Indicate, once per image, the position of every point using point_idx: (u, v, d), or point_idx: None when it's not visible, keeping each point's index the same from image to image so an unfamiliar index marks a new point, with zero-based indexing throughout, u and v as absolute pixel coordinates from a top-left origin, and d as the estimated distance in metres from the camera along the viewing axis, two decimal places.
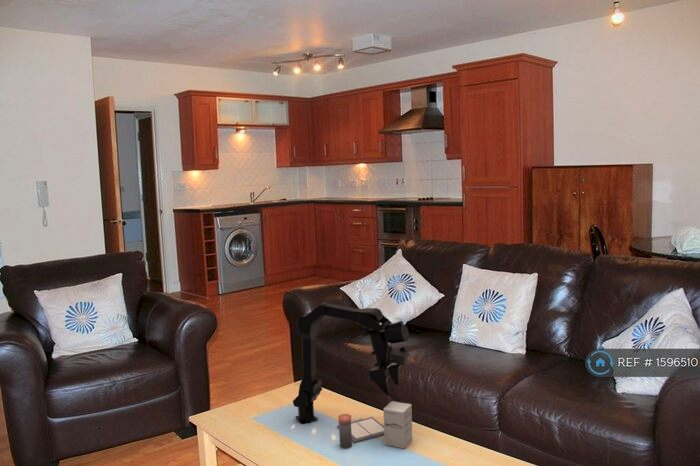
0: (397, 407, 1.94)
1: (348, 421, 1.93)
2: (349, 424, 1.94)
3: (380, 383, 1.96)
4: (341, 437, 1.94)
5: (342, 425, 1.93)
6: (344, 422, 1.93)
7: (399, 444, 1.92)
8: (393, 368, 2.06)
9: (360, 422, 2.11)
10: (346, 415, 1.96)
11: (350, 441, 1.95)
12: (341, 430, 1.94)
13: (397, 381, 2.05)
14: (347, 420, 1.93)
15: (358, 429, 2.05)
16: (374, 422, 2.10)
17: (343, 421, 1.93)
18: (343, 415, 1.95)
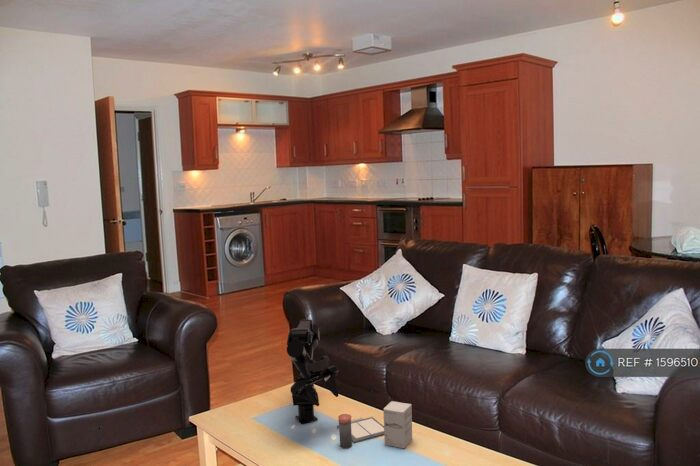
0: (397, 407, 1.94)
1: (348, 421, 1.93)
2: (349, 424, 1.94)
3: (307, 396, 1.97)
4: (341, 437, 1.94)
5: (342, 425, 1.93)
6: (344, 422, 1.93)
7: (399, 444, 1.92)
8: (329, 381, 2.05)
9: (360, 422, 2.11)
10: (346, 415, 1.96)
11: (350, 441, 1.95)
12: (341, 430, 1.94)
13: (335, 392, 2.03)
14: (347, 420, 1.93)
15: (358, 429, 2.05)
16: (374, 422, 2.10)
17: (343, 421, 1.93)
18: (343, 415, 1.95)
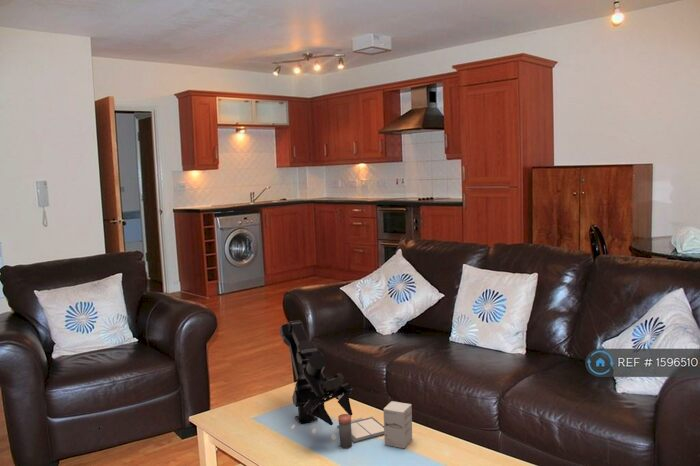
0: (397, 407, 1.94)
1: (348, 421, 1.93)
2: (349, 424, 1.94)
3: (320, 415, 1.94)
4: (341, 437, 1.94)
5: (342, 425, 1.93)
6: (344, 422, 1.93)
7: (399, 444, 1.92)
8: (342, 400, 2.01)
9: (360, 422, 2.11)
10: (346, 415, 1.96)
11: (350, 441, 1.95)
12: (341, 430, 1.94)
13: (349, 411, 1.99)
14: (347, 420, 1.93)
15: (358, 429, 2.05)
16: (374, 422, 2.10)
17: (343, 421, 1.93)
18: (343, 415, 1.95)
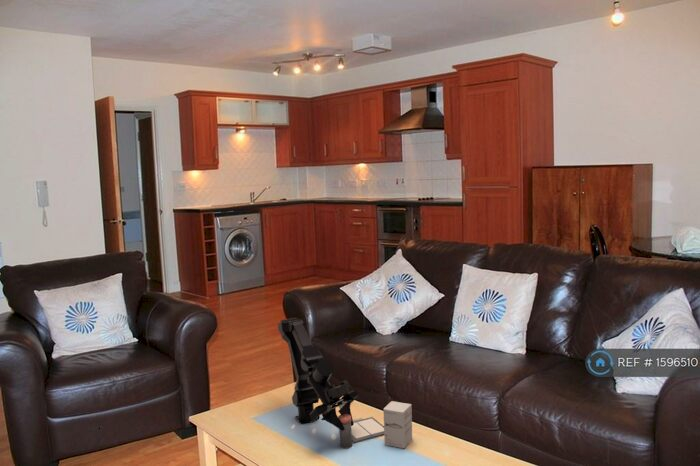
0: (397, 407, 1.94)
1: (348, 421, 1.93)
2: (349, 424, 1.94)
3: (332, 420, 1.94)
4: (341, 437, 1.94)
5: None
6: (344, 422, 1.93)
7: (399, 444, 1.92)
8: (343, 409, 1.98)
9: (360, 422, 2.11)
10: (346, 415, 1.96)
11: (350, 441, 1.95)
12: (341, 430, 1.94)
13: None
14: (347, 420, 1.93)
15: (358, 429, 2.05)
16: (374, 422, 2.10)
17: (343, 421, 1.93)
18: (343, 415, 1.95)
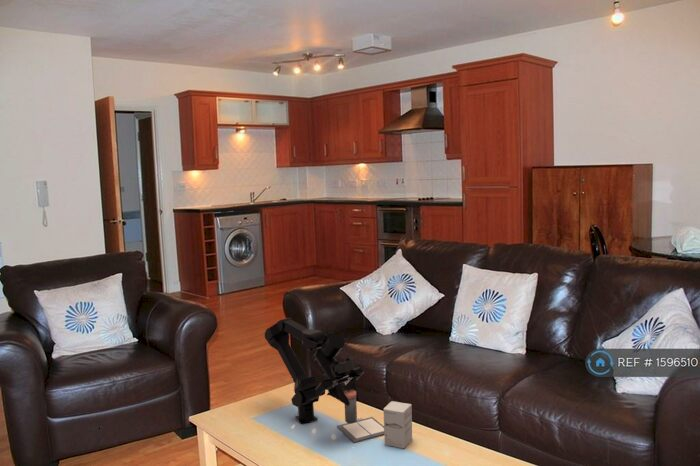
0: (397, 407, 1.94)
1: (353, 396, 1.96)
2: (354, 399, 1.97)
3: (337, 395, 1.97)
4: (346, 412, 1.97)
5: None
6: (349, 397, 1.96)
7: (399, 444, 1.92)
8: (349, 385, 2.01)
9: (360, 422, 2.11)
10: (351, 391, 1.99)
11: (355, 416, 1.98)
12: (346, 405, 1.97)
13: (356, 397, 1.99)
14: (352, 395, 1.96)
15: (358, 429, 2.05)
16: (374, 422, 2.10)
17: (348, 396, 1.96)
18: (349, 391, 1.98)
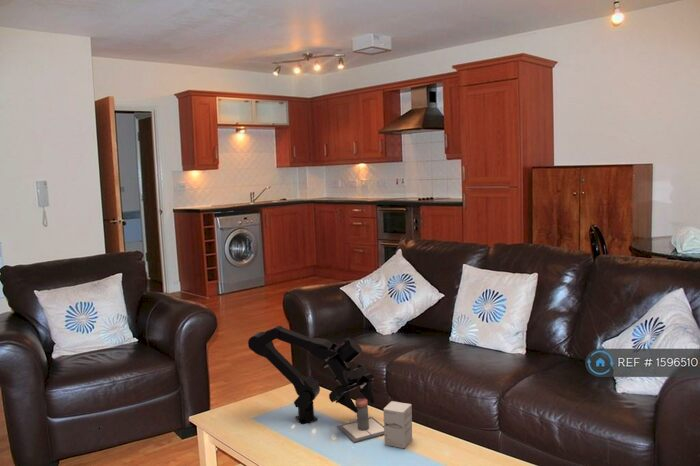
0: (397, 407, 1.94)
1: (365, 405, 2.03)
2: (366, 407, 2.04)
3: (345, 403, 2.03)
4: (358, 420, 2.04)
5: (359, 409, 2.03)
6: (361, 406, 2.03)
7: (399, 444, 1.92)
8: (365, 389, 2.10)
9: None
10: (363, 399, 2.06)
11: (367, 423, 2.05)
12: (358, 413, 2.04)
13: (372, 400, 2.08)
14: (364, 404, 2.03)
15: None
16: (374, 422, 2.10)
17: (360, 405, 2.03)
18: (360, 399, 2.06)
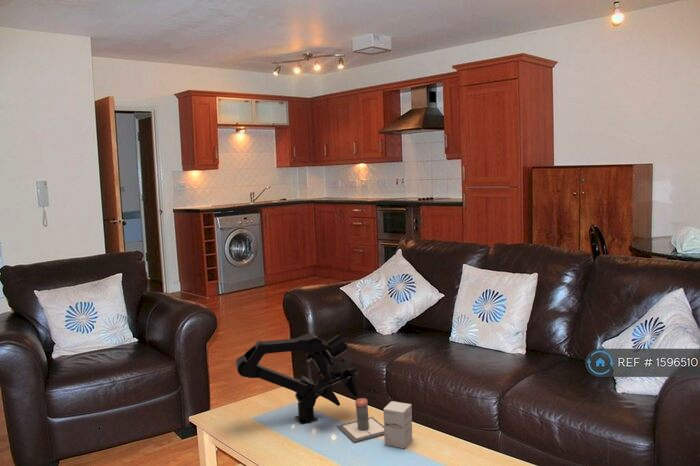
0: (397, 407, 1.94)
1: (365, 405, 2.03)
2: (366, 407, 2.04)
3: (328, 396, 2.08)
4: (358, 420, 2.04)
5: (359, 409, 2.03)
6: (361, 406, 2.03)
7: (399, 444, 1.92)
8: (349, 382, 2.15)
9: None
10: (363, 399, 2.06)
11: (367, 423, 2.05)
12: (358, 413, 2.04)
13: (355, 393, 2.13)
14: (364, 404, 2.03)
15: None
16: (374, 422, 2.10)
17: (360, 405, 2.03)
18: (360, 399, 2.06)
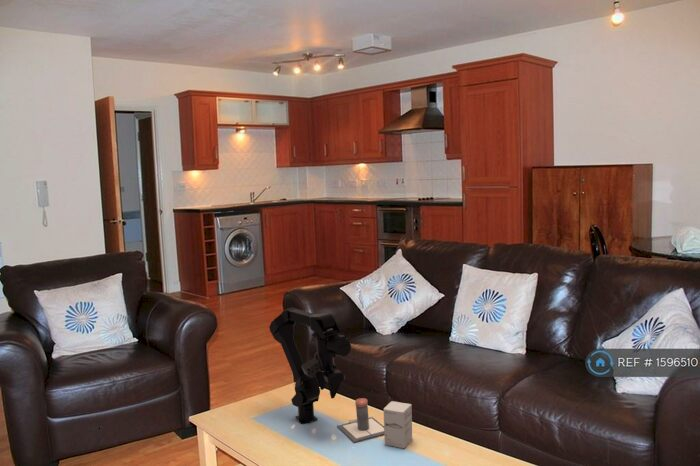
0: (397, 407, 1.94)
1: (365, 405, 2.03)
2: (366, 407, 2.04)
3: None
4: (358, 420, 2.04)
5: (359, 409, 2.03)
6: (361, 406, 2.03)
7: (399, 444, 1.92)
8: None
9: None
10: (363, 399, 2.06)
11: (367, 423, 2.05)
12: (358, 413, 2.04)
13: None
14: (364, 404, 2.03)
15: None
16: (374, 422, 2.10)
17: (360, 405, 2.03)
18: (360, 399, 2.06)
